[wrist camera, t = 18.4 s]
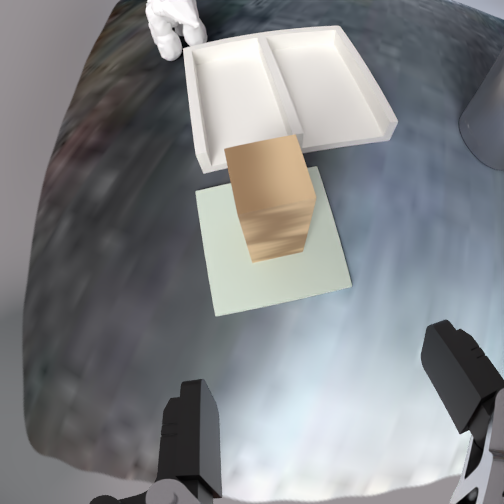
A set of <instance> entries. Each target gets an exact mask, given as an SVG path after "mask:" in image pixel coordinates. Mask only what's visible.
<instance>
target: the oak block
mask: <svg viewBox="0 0 504 504" xmlns="http://www.w3.org/2000/svg"><path fill="white" fill-rule="evenodd" d="M224 152H225V156H226V161H227V166H228V171H229V176H230V181H231V186H232V191H233V196H234V201H235V205H236V210H237V215H238V218H239V221H240V225H241V228H242V231H243V234H244V238H245V241H246V244H247V247H248V251H249V254H250V257H251V260H252V263H255V262H259V261H264V260H269V259H273V258H278V257H282V256H287V255H291V254H296V253H300V252H303V249H304V246H305V242H306V238H307V234H308V230H309V226H310V222H311V218H312V214H313V210H314V206H315V202H316V198H317V197H316V194H315V191H314V188H313V185H312V182H311V178H310V175H309V172H308V169H307V166H306V163H305V160H304V157H303V154H302V151H301V148H300V145H299V142H298V140H297V137H296V134H295V135H289V136H284V137H278V138H273V139H268V140H263V141H258V142H253V143H248V144H243V145H239V146H234V147H230V148H225V149H224Z"/></svg>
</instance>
